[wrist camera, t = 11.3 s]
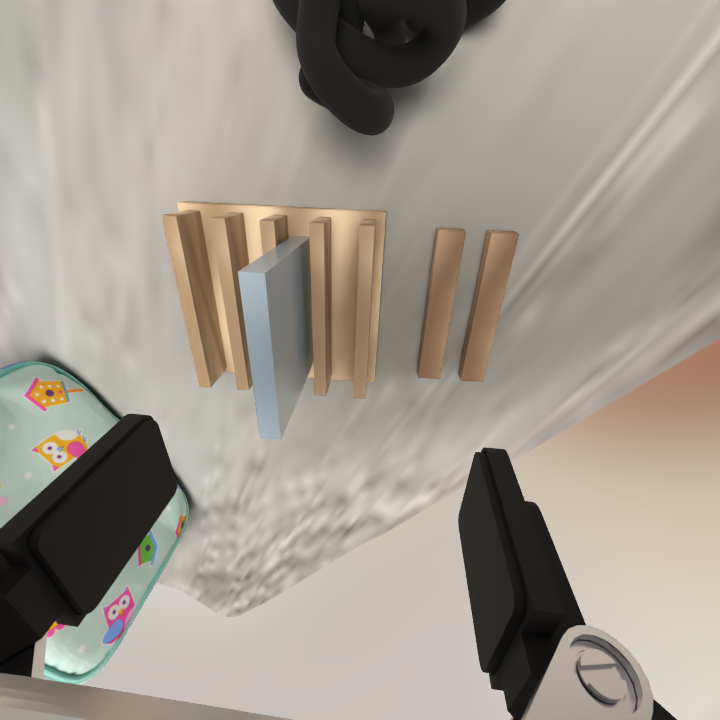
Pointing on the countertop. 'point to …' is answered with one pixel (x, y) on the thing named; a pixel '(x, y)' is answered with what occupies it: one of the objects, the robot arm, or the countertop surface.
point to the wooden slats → (483, 308)
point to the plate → (278, 330)
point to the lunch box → (44, 464)
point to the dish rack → (328, 284)
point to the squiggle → (373, 50)
